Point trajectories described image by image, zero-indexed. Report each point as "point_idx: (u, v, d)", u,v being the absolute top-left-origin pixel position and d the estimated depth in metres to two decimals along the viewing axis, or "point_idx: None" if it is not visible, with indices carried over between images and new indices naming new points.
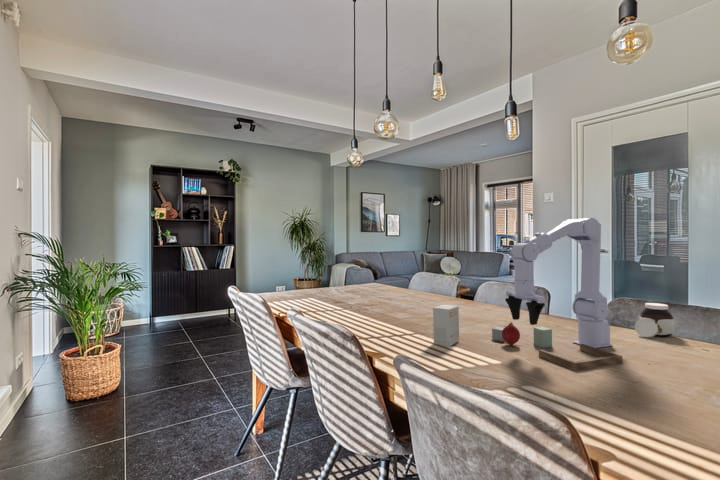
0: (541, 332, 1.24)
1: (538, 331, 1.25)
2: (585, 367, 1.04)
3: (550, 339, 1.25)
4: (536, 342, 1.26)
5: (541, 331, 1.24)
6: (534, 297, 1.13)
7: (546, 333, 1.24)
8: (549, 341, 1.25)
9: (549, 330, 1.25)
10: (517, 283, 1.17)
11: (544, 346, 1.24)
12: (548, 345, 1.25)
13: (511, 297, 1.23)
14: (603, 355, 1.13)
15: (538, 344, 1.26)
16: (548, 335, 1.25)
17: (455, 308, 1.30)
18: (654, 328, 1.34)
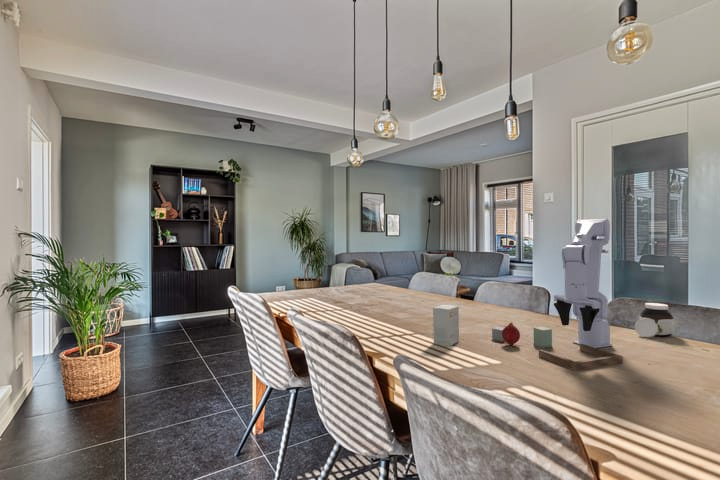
0: (541, 332, 1.24)
1: (538, 331, 1.25)
2: (585, 367, 1.04)
3: (550, 339, 1.25)
4: (536, 342, 1.26)
5: (541, 331, 1.24)
6: (589, 302, 1.07)
7: (546, 333, 1.24)
8: (549, 341, 1.25)
9: (549, 330, 1.25)
10: (568, 287, 1.12)
11: (544, 346, 1.24)
12: (548, 345, 1.25)
13: (560, 302, 1.17)
14: (603, 355, 1.13)
15: (538, 344, 1.26)
16: (548, 335, 1.25)
17: (455, 308, 1.30)
18: (654, 328, 1.34)
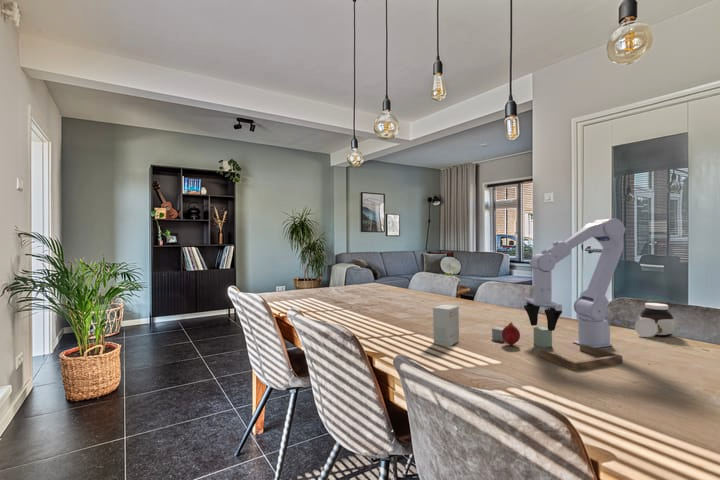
0: (541, 332, 1.24)
1: (538, 331, 1.25)
2: (585, 367, 1.04)
3: (550, 339, 1.25)
4: (536, 342, 1.26)
5: (541, 331, 1.24)
6: (552, 305, 1.21)
7: (546, 333, 1.24)
8: (549, 341, 1.25)
9: None
10: (536, 291, 1.25)
11: (544, 346, 1.24)
12: (548, 345, 1.25)
13: (529, 304, 1.31)
14: (603, 355, 1.13)
15: (538, 344, 1.26)
16: (548, 335, 1.25)
17: (455, 308, 1.30)
18: (654, 328, 1.34)
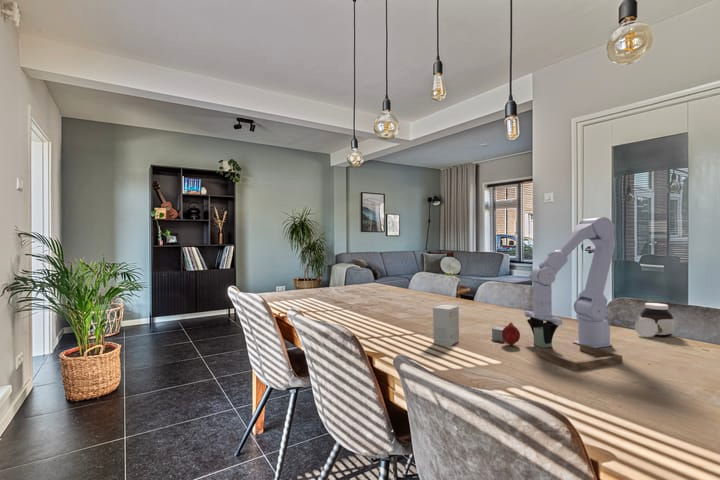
0: (541, 332, 1.24)
1: (538, 331, 1.25)
2: (585, 367, 1.04)
3: None
4: (536, 342, 1.26)
5: (541, 331, 1.24)
6: (552, 319, 1.21)
7: None
8: None
9: None
10: (536, 305, 1.25)
11: (544, 346, 1.24)
12: (548, 345, 1.25)
13: None
14: (603, 355, 1.13)
15: (538, 344, 1.26)
16: None
17: (455, 308, 1.30)
18: (654, 328, 1.34)
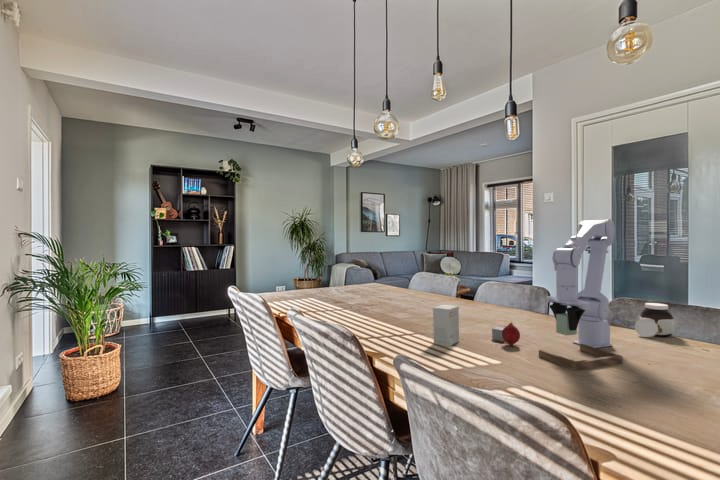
0: (565, 318, 1.14)
1: (562, 317, 1.15)
2: (585, 367, 1.04)
3: None
4: (559, 330, 1.16)
5: (565, 317, 1.14)
6: (579, 303, 1.10)
7: None
8: None
9: None
10: (560, 289, 1.15)
11: (568, 334, 1.14)
12: (572, 333, 1.14)
13: None
14: (603, 355, 1.13)
15: (561, 332, 1.15)
16: None
17: (455, 308, 1.30)
18: (654, 328, 1.34)
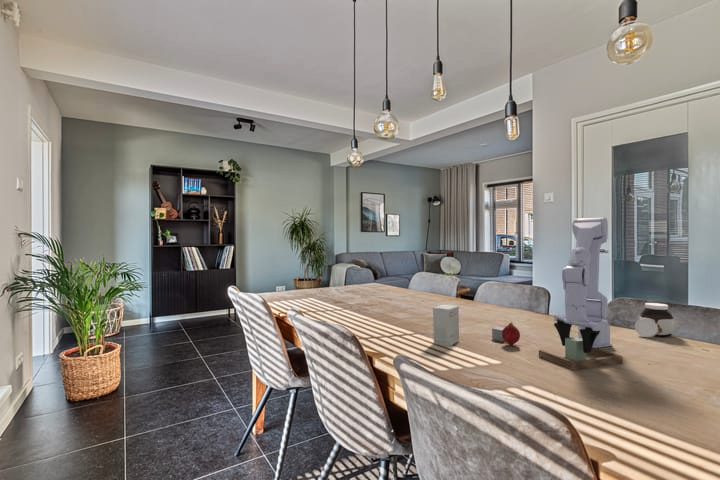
0: (574, 343, 1.11)
1: (571, 342, 1.12)
2: (585, 367, 1.04)
3: None
4: (568, 355, 1.13)
5: (574, 342, 1.11)
6: (589, 324, 1.07)
7: (580, 345, 1.11)
8: (584, 354, 1.11)
9: None
10: (569, 308, 1.12)
11: (578, 359, 1.10)
12: (582, 358, 1.11)
13: (560, 322, 1.17)
14: (603, 355, 1.13)
15: (571, 357, 1.12)
16: (582, 347, 1.11)
17: (455, 308, 1.30)
18: (654, 328, 1.34)
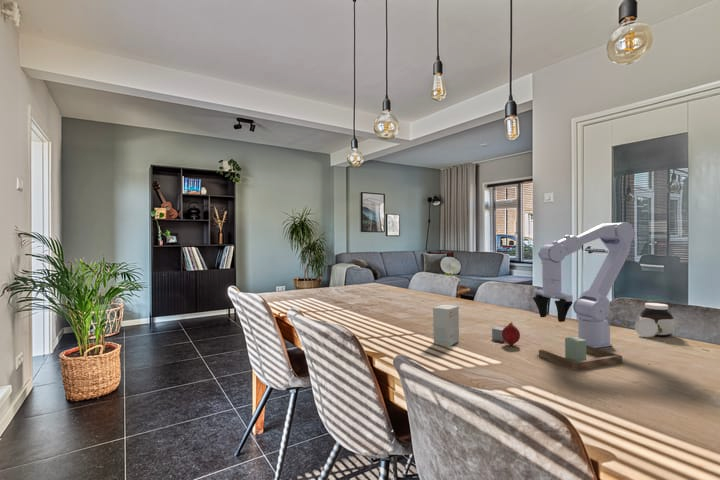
0: (574, 343, 1.11)
1: (571, 342, 1.12)
2: (585, 367, 1.04)
3: (584, 351, 1.11)
4: (568, 355, 1.13)
5: (574, 342, 1.11)
6: (562, 296, 1.19)
7: (580, 345, 1.11)
8: (584, 354, 1.11)
9: (583, 341, 1.11)
10: (545, 282, 1.24)
11: (578, 359, 1.10)
12: (582, 358, 1.11)
13: (538, 296, 1.29)
14: (603, 355, 1.13)
15: (571, 357, 1.12)
16: (582, 347, 1.11)
17: (455, 308, 1.30)
18: (654, 328, 1.34)
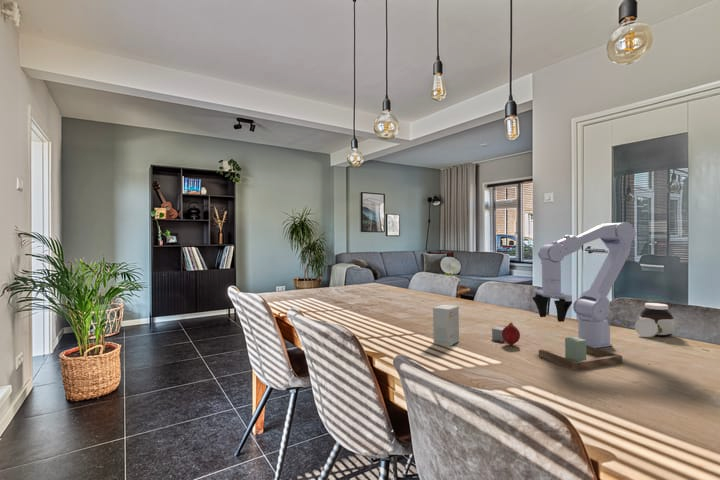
0: (574, 343, 1.11)
1: (571, 342, 1.12)
2: (585, 367, 1.04)
3: (584, 351, 1.11)
4: (568, 355, 1.13)
5: (574, 342, 1.11)
6: (562, 295, 1.19)
7: (580, 345, 1.11)
8: (584, 354, 1.11)
9: (583, 341, 1.11)
10: (545, 282, 1.24)
11: (578, 359, 1.10)
12: (582, 358, 1.11)
13: (538, 296, 1.29)
14: (603, 355, 1.13)
15: (571, 357, 1.12)
16: (582, 347, 1.11)
17: (455, 308, 1.30)
18: (654, 328, 1.34)
